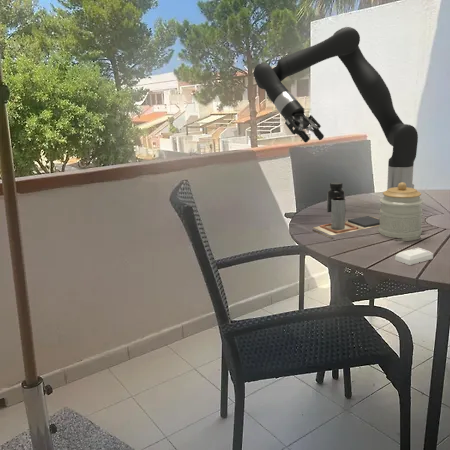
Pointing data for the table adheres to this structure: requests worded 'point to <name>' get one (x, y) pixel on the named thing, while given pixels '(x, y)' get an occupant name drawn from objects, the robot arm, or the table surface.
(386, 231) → the jar
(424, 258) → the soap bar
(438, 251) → the table surface
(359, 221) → the pad
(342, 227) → the grey tumbler
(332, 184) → the supplement bottle
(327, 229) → the board
